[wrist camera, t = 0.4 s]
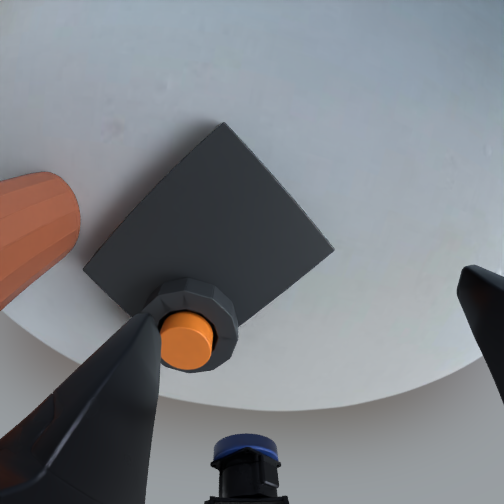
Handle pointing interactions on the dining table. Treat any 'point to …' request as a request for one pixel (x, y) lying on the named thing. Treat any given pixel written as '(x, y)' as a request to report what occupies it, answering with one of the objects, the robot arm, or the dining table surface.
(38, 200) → the jar
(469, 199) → the dining table surface
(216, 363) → the scale
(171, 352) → the button
